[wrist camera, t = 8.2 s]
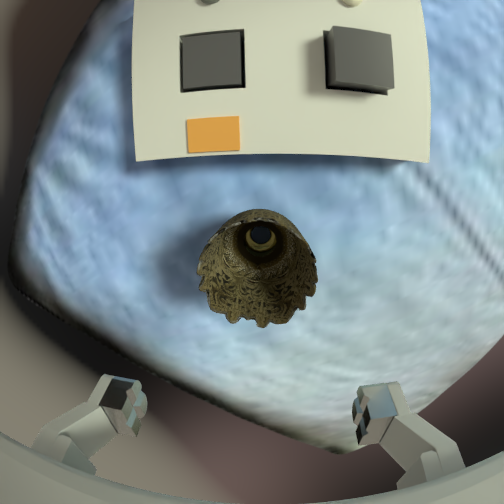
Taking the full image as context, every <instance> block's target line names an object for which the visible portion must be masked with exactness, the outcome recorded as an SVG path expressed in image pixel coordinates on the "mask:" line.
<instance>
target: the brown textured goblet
mask: <svg viewBox="0 0 504 504" xmlns="http://www.w3.org/2000/svg"><path fill="white" fill-rule="evenodd" d="M259 226H262V227H266V228H268V229H269V231H270V239H269V240H268V241H267V242H266V243H263V244H259V243H256V242H254V241H253V239H252V237H251V232H252V230H253V228H254V227H259ZM199 261H200V262H199V263H198V267H197V275H199V276H202V279H201V282H200V285H199V290H200V291H203V292H206V294H207V301H208V304H209V307H210V309H211V310H212V311H214V312H216V313H220V314H225V315H226V319H227V320H228V321H229V322H230V323H232V324H234V323H236V322H238V321H239V320H240V319H241V318H242V317H243V318H245V319H246V320H250V319H253V320H255V321H256V322H257V324H256V325H257V327H261V328H265V327H266V326H267V325H268V324H269V323H270V322H272V323H274V324H284V323H287V322H288V321H289V320H290V319H291V317H292V316H293V315H294V312H295V311H296V310H297V309H298V308H299V310H305V308H306V296H310V297H312V296H313V295H314V294H315V290H316V285H315V283H317V282H318V277H317V269H316V266H315V263H316V259H315V256H314V254H313V252H312V251H311V249H310V246H309V244H308V243H307V242H306V240H305V239H304V237H303V236H302V234H301V233H300V232H299V230H298V229H297V228H296V226H295V225H294V224H293V223H292V222H291V221H290V220H288V219H287V218H286V217H284V216H283V215H281V214H279V213H277V212H274V211H271V210H266V209H252V210H247V211H244V212H242V213H239V214H237V215H236V216H234V217H232V218H231V219H230V220H228V221H227V222H226V223H225V224H224V225H223V226H222V227H221V228H220V229H219V230H218V231H217V232H216V233H215V234H214V235H213V236H212V237H211V238H210V239H209V240H208V244H207V245H206V246H205V248H204V250H203V252H202V253H201V255H200V258H199ZM239 317H241V318H239ZM238 318H239V319H238ZM237 320H238V321H237Z"/></svg>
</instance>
